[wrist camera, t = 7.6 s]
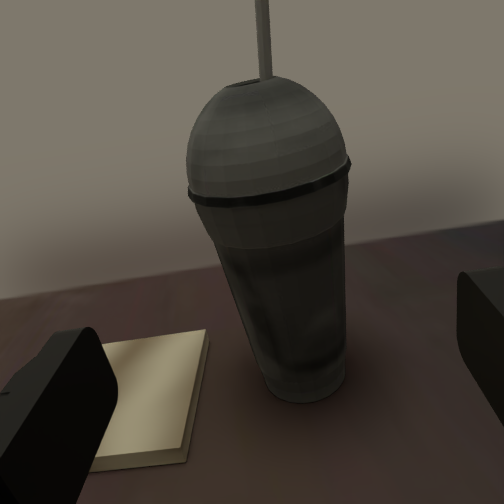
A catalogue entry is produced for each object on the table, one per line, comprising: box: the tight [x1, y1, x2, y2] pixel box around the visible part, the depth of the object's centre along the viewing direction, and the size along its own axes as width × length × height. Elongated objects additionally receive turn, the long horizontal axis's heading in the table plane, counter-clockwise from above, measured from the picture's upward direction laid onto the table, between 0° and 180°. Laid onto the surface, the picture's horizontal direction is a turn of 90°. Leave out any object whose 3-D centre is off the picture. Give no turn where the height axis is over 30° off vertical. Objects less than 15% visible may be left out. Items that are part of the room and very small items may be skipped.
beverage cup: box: [186, 0, 351, 403], centre depth 20 cm, size 7×7×20 cm
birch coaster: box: [89, 329, 209, 472], centre depth 25 cm, size 10×9×1 cm
